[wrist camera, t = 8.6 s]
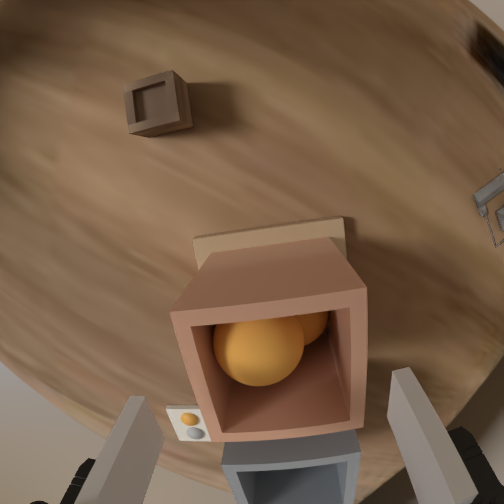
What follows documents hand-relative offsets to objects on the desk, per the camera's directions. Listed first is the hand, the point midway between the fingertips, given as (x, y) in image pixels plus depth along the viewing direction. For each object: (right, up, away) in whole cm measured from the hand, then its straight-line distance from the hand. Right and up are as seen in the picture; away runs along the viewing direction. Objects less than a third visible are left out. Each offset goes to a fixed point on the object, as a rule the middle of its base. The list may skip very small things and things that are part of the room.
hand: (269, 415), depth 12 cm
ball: (+2, +2, +6) cm, 7 cm away
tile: (-5, -11, +17) cm, 21 cm away
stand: (-7, +17, +10) cm, 21 cm away
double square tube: (+2, -2, +15) cm, 15 cm away
